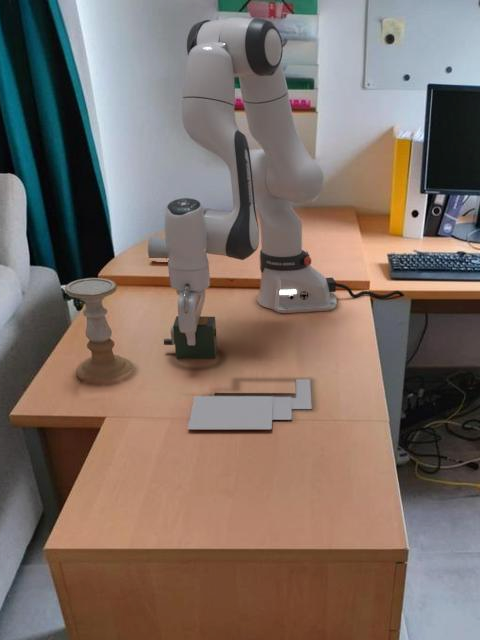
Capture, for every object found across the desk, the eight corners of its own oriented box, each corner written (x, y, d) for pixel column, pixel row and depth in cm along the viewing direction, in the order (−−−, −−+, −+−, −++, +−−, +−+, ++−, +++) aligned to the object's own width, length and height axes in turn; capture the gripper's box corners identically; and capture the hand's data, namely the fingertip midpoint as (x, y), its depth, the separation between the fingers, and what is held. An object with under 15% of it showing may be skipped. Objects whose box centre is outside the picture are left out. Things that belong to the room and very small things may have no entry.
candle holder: (143, 365, 167) (131, 279, 155) (116, 388, 157) (102, 299, 145) (95, 357, 169) (80, 273, 158) (66, 380, 159) (47, 291, 148)
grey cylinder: (175, 266, 225) (173, 241, 220) (148, 265, 224) (146, 240, 220) (181, 256, 233) (179, 232, 229) (155, 255, 233) (153, 231, 229)
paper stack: (199, 379, 162) (198, 376, 161) (310, 379, 164) (310, 376, 163) (187, 432, 143) (187, 429, 142) (313, 432, 145) (313, 429, 144)
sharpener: (218, 348, 173) (216, 315, 168) (216, 358, 168) (214, 325, 164) (167, 347, 172) (163, 315, 168) (163, 358, 167) (159, 325, 163)
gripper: (199, 294, 152) (203, 354, 159) (208, 263, 168) (211, 319, 176) (168, 293, 151) (174, 354, 159) (180, 263, 168) (185, 319, 176)
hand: (194, 336), depth 168 cm, fingers open, 8 cm apart
